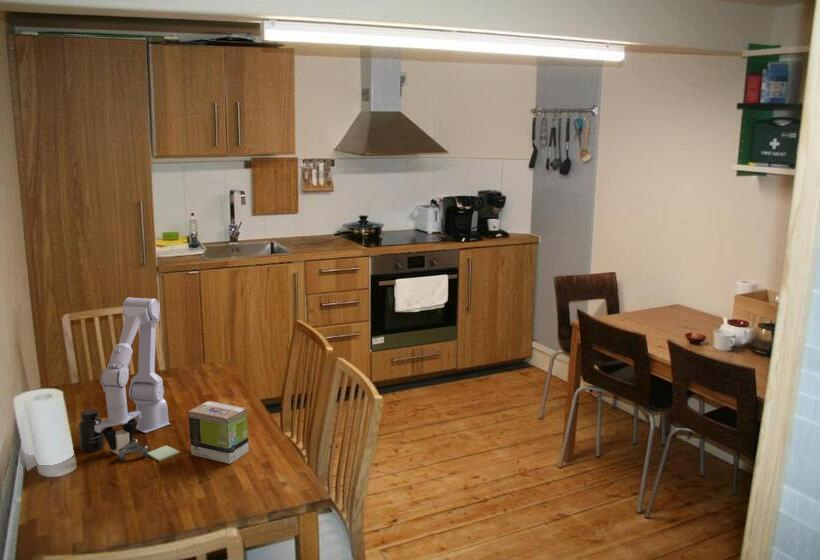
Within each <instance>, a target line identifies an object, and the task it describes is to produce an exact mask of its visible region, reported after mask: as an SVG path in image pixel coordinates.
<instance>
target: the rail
mask: <svg viewBox="0 0 820 560" xmlns="http://www.w3.org/2000/svg"><path fill="white" fill-rule="evenodd" d="M138 441H139V440H138V438H132V440H131V441H130V442H129V443H128V444H126V445H125V446H124V447H122V448H120V449H119V455H118V457H119V458H118V459H119V462H125V461H127V459H126V457H127V456H126V454H131V453H132V454H133V453H140V452H141V455H142V456H141V457H142V458H143V459H148V458H149V457H150V456H149V454H148V452H149V445H148V444H147V445H146V444H144V445H139V442H138Z"/></svg>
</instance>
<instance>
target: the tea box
mask: <svg viewBox="0 0 820 560" xmlns="http://www.w3.org/2000/svg"><path fill="white" fill-rule="evenodd" d="M247 410H248V408H247V407H243V406H238V405H233V404H229V403H224V402H219V401H212V400H207V401H206V402H204V403H201V404H200V405H198V406H195V407H194V408H191V409H190V410H188V425H189V427H188V428H189V440H190V441H189V442H190V453H191V455H192V456H194V457H195V456H196V457H198V458H199V457H200V458H204V459H208V460H212V461H217V462H220V463H223V464H229V465H231V464H233V462H235V461H237V460H239V459H240V458H241V457H243V456H245V455H246V454H247V453H249V450H250V449H249V446H250V445H249V430H248V428H249V427H248V426H249V425H248V411H247Z"/></svg>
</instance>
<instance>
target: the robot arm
mask: <svg viewBox="0 0 820 560" xmlns="http://www.w3.org/2000/svg"><path fill="white" fill-rule="evenodd" d="M160 305H161V304H160V302H159V301H158V300H157V298H143V297H142V298H140V297H132V296H131V297H130V296H129V297H126V299H124V301H123V303H122V314H123V318H124V322H123V325H122V330H121V333H120V338H119V343H117V344H115V345H114V346H113V349H112V352H111V355H110V357H109V359H108V360H109V361H108V364H107V367H106V368H103V370H101V373H100V378H99V382H100V383H99V384H101V386H102V388H103V389H102V390H103V392H105V400H106V401H105V403H106V412H107V418H106V419H104V420H102V422H101V423H99V424H96V425H94V428H95V431H96V432H98V433H99V432H102V433H103V437H105V439H106V441H107V443H108V446H109V449H110V450H111V451H112V450H116V444H115V435H116V431H117V430H114V427H117V426H119V425H120V426H121V425H122V427H123V430H124V431H126V432H128V433H129V438H130V441H131V440H132V439H133V435H134V433H135V432H134V431H135V430H137V431H139V432H141V433H144V434H147V433H150V432H153V431H156V430H159V429H161V428H163V427H166V426H169V425H171V422H169V420H170V419H169V410H168V404H167V401H166V399H165V398H164V394H165V388H164V385H163V384H164V383H163V378H162V377H161V376H160V375H159V374H157V373H156V372H155V366H156V337H157V336H156V335H157V323H159V322H160V316H161V315H160V313H161V312H160V311H161V309H160V308H161V306H160ZM138 330H139V332H138ZM137 333H139V334H138V336H139V338H138V339H139V340H138V367H137V368H138V369H137V370H138V371H137V374H136V375H134V376H133V377H131V378H130V386H129V388H128V396H129V398H130V400H131V401H133V404H135V411H130V412H128V411H129V410H128V402H127V391H126V390H127V389H126V385H127V384H128V382H129V377H130V375H129V372H130V367H129V365H130V362H131V359H132V355H133V353H134V351H133V348H132V344H133V342H134V339H135V337H136V335H137Z"/></svg>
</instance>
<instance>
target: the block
mask: <svg viewBox="0 0 820 560" xmlns="http://www.w3.org/2000/svg"><path fill="white" fill-rule="evenodd" d="M115 431H116V435H115V444H116V450H112V449H111V452H112V453H114V454H116V455H118V456H119V449H120V448H122V447H124V446H125V445H126V444H128V443H129V442H130V438H129V433H128V432H126V431H124V429H119V430H115Z"/></svg>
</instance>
